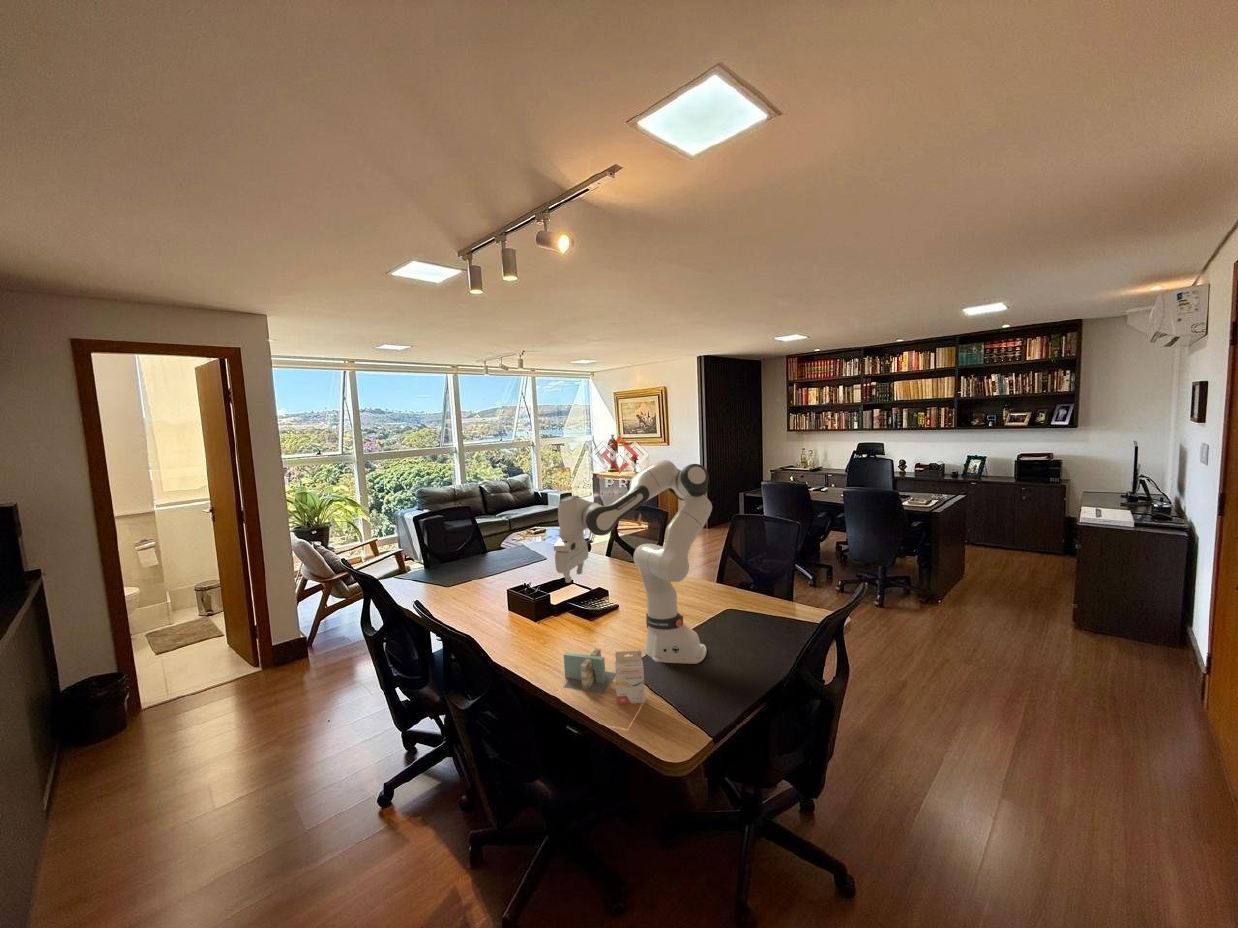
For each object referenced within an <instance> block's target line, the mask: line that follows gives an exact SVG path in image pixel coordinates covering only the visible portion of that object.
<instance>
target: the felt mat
mask: <svg viewBox="0 0 1238 928" xmlns="http://www.w3.org/2000/svg"><path fill="white" fill-rule="evenodd" d="M605 677H606V681H605V682H604V683H598V682H596V680H595V681H594V682H593V683H592V685H591V686H590V687H589V688H588V690H583V689H582V680H578V679H571V678H569V680H568V681H567V682H566V683H565V684H564V685H563V688H566V689H571V690H578V691H584V692H590V693H597V694H603V695H604V693H605V692H606V690H607V689H608V688H609V686H610V684H611V683H612V682H613V681H614V679H616V672H611V671H606V670H605Z"/></svg>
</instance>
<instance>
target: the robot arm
mask: <svg viewBox="0 0 1238 928" xmlns="http://www.w3.org/2000/svg"><path fill="white" fill-rule="evenodd" d="M709 479H710V476H709V472H708V470H707V468H706V467H705V466H704V465H702V464H699V463H691V464H688V465H686V466H684V467H683V468H682V469H680V468H678V467H677V466H676V465H675V464H674V463H673V461H670V460H667V459H664V460H660V461H658V462H655V463H653V464H651V465H649V466H647V467H646V468H645V467H644V468H643V469H642V470H640V471H638V472H637V473H635V475H634V476H632V477H631V479H630V480H629V489H628V492H627V493H625V494H624V495H623V496H621V497H620V498H618V499H617V500H615V501H613V502H612V503H611V504H609V505H601V504H600V503H597V502H593V501H589V500H586V499H584V498H582V497H580V496H579V495H570V496H566V497H563V498H562V499H560V501H559V503H558V507H557V520H558V525H559V532H558V533H559V534H558V536H559V537H558V538H557V541H556V542H555V544H553V551H554V552H555V553H554V562H555V571H556V572H557V573H558V574H562V575H563V577H564V580H565V583H567V584H569V583H572V580H573V579H572V576H571V575H570V574H571V570H573V569H574V568H576V567H577V569H576V575H582V574H583V568H584V565H585V563H584V562H585V561H587V559H588V558H589V548H588V547H589V546H588V543H587V541H586V540H585V539H586V538H585V535H584V530H585V529H588V530H589V532H591V533H592V534H593V535H596V536H606V535H608V534H610V533H611V532H612V531H613V530H614V528H615V527H616V526H617V525H618V523H619V522H620V521H621V520H622V519H624V518H625V517H627V516H628V515H629V514H630V513H633V512H634V511H636V509H638V508H640V506H642V505H643V504H644V503H646V502H648V501H649V500H651V499H653V498H654V497H656V496H657V495H660V494H661V493H662V492H664V491H666V490H667V489H668V491H669V492H670V493H671V494H673V496H675V498H677V499H678V500H680V501H682V502H683V504H681V506H680V508H679V509H678V510H677V512H676V514H675V515H673V518H672V519H671V520H670V522H669V523H668V525H667V526H666V528H665V532H666V535H667V536H666V540H665V542H664V544H663V545H662V546H661V545H659V544H654V543H642V544H640V545H638V546H637V547H636V549H635V550H634V552H633V557H632V558H633V563H634V565H635V566H636V567H637V569H638V571H639V574H640V576H641V579H642V583H643V587H644V591H645V596H646V609H647V610H646V611H647V613H646V618H645V621H646V622H645V624H646V628H647V632H646V633H647V635H646V636H647V637H646V643H645V647H644V653H645V654H646V655H647V656H648V657H650V658H651V659H652V660H653V661H654V662H655V663H665V664H689V665H691V664H692V665H693V664H694V665H695V664H699V663H700V662H702V661H703V660H704V659H705V658H706V655H707V647H706V646H707V645H705V644H704V643H701V641H700V637H699V635H698V633H697V632H696V631H695V630H693V629H692V628H691V627H689V626H688V625H687V624H685V623H684V617H685V615H684V613H682V614H680V613H679V612H678V596H677V590H676V588H675V587H674V585H673V584H672V583H680V582H682V581H684V579H685V578H686V577H687V576H688V574H689V572H690V563H689V559H688V558H689V553H690V550H691V546H692V545H693V543H694V542H695V540H696V538H697V537H698V535H699V534H700V533H701V531H702V530H703V528H704V527H705V525H706V524H707V522H708V519H709V517H710V516H711V513H712V511H713V504H712V501H710V500H709V498H708V497H706V494H707V493H708V489H709V486H708V485H709Z"/></svg>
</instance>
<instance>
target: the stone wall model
mask: <svg viewBox="0 0 1238 928" xmlns="http://www.w3.org/2000/svg"><path fill="white" fill-rule="evenodd" d="M590 655H591V656H599V657H602V651H601V648H594V650H593V651H592V652H591V653H590ZM581 679H582V689H583V690H588V688H589V687H590V686H591V685H592V683H593V682H594V681H595V680H596V674H595V670H592V665H591V660H589V659H586V660H585V661H584V662H583V663H582V664H581ZM583 690H582V691H583Z"/></svg>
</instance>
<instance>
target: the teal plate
mask: <svg viewBox="0 0 1238 928" xmlns="http://www.w3.org/2000/svg"><path fill="white" fill-rule="evenodd" d="M586 659H589V660H591V665H592V670H595V674H596V682H598V683H604V682H605V681H606V677H605V671H606V665H605V664H606V662H605V657H604V656H601V657H599V656H591V654H590V655H589V654H581V653H575V652H568V651H565V653H564V654H563V664H564V665H563V666H564V678H567V679H578V680H582V679H581V664H582V663H583V662H584V661H585V660H586Z"/></svg>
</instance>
